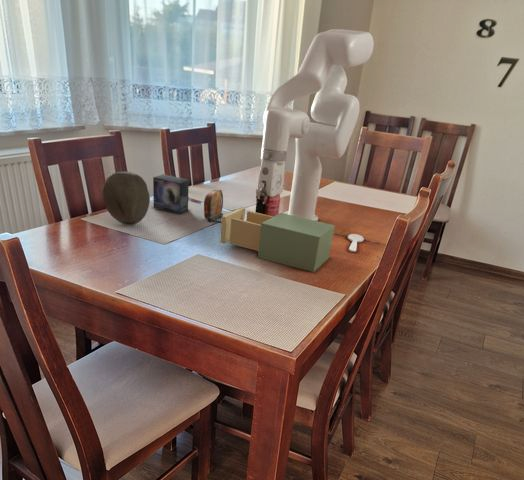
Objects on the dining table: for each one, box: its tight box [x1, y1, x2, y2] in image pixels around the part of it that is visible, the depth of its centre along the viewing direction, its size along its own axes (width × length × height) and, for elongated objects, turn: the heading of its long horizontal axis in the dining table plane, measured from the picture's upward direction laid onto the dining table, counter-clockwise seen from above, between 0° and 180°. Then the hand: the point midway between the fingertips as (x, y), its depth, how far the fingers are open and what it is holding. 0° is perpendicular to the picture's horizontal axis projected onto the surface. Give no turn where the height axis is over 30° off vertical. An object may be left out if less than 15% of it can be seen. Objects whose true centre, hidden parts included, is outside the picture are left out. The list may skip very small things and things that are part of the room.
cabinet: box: [257, 212, 336, 273], centre depth 135 cm, size 17×14×10 cm
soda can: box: [262, 192, 281, 217], centre depth 151 cm, size 7×7×13 cm
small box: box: [152, 173, 190, 215], centre depth 163 cm, size 11×6×10 cm, turn 68°
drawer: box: [206, 207, 273, 252], centre depth 140 cm, size 22×13×8 cm, turn 65°
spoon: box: [347, 233, 365, 253], centre depth 155 cm, size 5×18×1 cm, turn 166°
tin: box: [203, 189, 224, 220], centre depth 161 cm, size 15×3×8 cm, turn 168°
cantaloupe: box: [102, 171, 151, 226], centre depth 144 cm, size 14×14×15 cm
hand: (266, 213), depth 151 cm, fingers open, 9 cm apart
